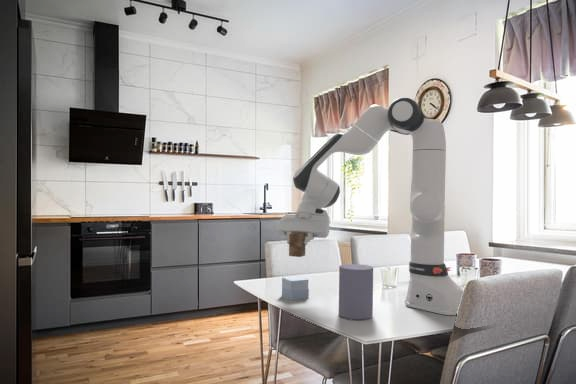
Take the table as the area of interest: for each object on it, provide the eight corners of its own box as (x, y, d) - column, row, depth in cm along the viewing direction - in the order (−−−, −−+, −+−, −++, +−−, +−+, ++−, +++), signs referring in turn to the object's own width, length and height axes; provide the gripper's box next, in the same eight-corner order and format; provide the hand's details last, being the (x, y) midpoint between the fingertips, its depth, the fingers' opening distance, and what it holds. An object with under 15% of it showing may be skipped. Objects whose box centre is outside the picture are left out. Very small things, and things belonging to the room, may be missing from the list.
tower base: (308, 299, 153) (308, 289, 153) (292, 301, 149) (292, 291, 149) (297, 295, 159) (298, 285, 159) (281, 297, 155) (282, 287, 155)
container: (379, 316, 131) (379, 267, 131) (359, 322, 124) (359, 270, 124) (352, 309, 138) (352, 263, 138) (331, 315, 131) (332, 266, 131)
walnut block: (305, 255, 155) (305, 233, 156) (300, 256, 151) (300, 234, 151) (293, 254, 157) (294, 232, 157) (288, 256, 153) (289, 233, 153)
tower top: (308, 289, 153) (308, 279, 153) (290, 291, 149) (291, 281, 149) (298, 285, 159) (298, 276, 159) (282, 287, 156) (282, 277, 156)
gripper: (280, 209, 165) (268, 236, 156) (330, 210, 157) (320, 239, 148) (284, 220, 169) (273, 247, 160) (334, 222, 161) (325, 251, 152)
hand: (296, 243), depth 154 cm, fingers closed on walnut block, 4 cm apart
